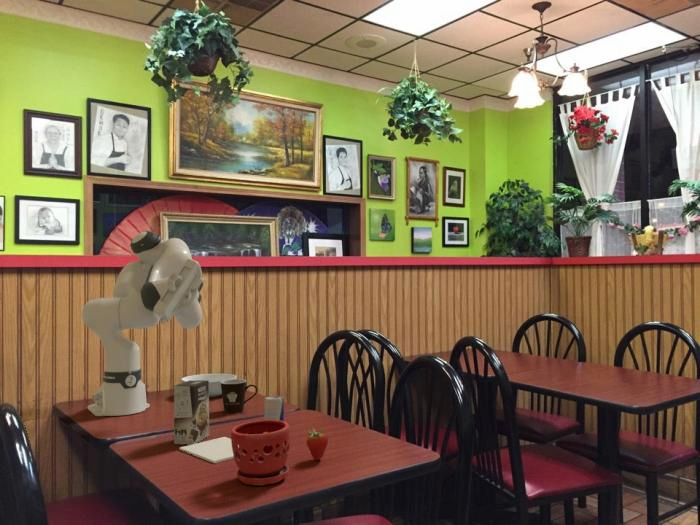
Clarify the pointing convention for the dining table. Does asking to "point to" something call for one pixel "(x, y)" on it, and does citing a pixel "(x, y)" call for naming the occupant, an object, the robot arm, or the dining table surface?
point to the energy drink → (274, 408)
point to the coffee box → (191, 412)
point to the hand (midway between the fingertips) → (172, 276)
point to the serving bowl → (211, 381)
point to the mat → (212, 450)
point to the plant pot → (261, 451)
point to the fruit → (317, 444)
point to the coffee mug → (234, 395)
